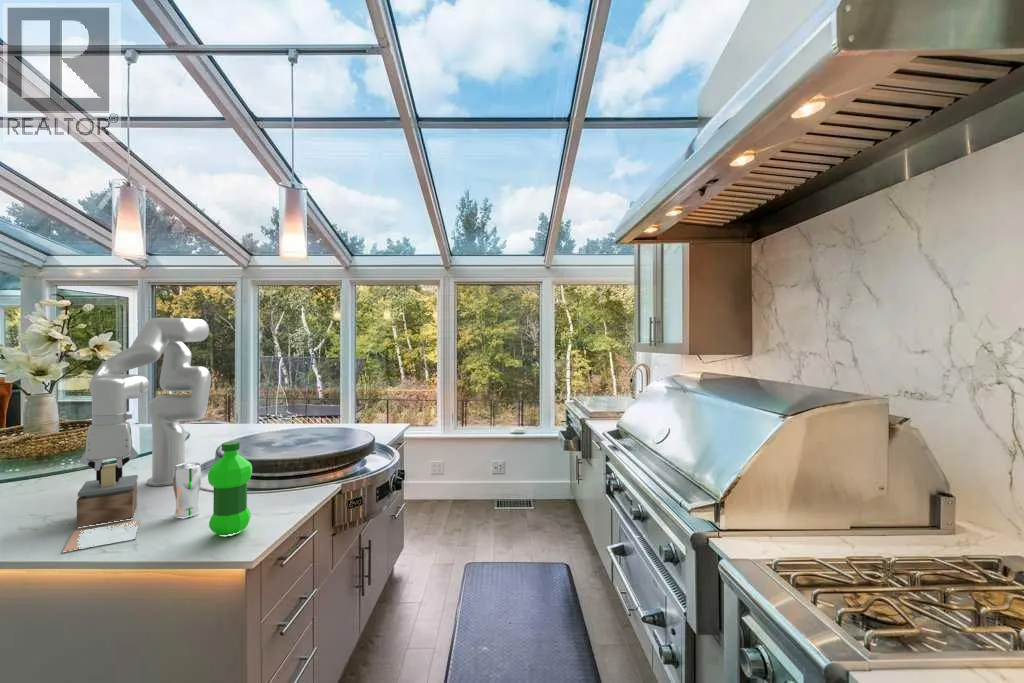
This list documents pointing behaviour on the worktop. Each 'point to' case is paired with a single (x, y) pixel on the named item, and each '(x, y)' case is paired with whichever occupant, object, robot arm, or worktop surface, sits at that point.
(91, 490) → the lid
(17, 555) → the worktop surface
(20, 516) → the worktop surface
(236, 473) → the plastic bottle
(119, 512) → the walnut box
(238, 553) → the worktop surface
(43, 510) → the worktop surface
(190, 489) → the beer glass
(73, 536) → the terracotta mat
